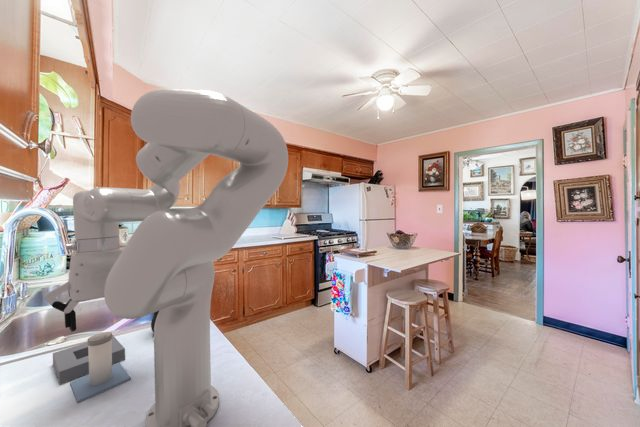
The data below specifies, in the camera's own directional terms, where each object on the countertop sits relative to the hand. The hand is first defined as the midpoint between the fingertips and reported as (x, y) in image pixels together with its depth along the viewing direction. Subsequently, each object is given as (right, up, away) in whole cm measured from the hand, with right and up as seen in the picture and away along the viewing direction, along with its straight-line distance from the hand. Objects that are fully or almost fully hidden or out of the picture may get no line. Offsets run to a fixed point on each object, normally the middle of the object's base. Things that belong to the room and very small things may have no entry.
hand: (102, 321), depth 57 cm
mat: (-1, -14, +1) cm, 14 cm away
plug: (-1, -14, +1) cm, 14 cm away
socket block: (-10, -14, +8) cm, 19 cm away
